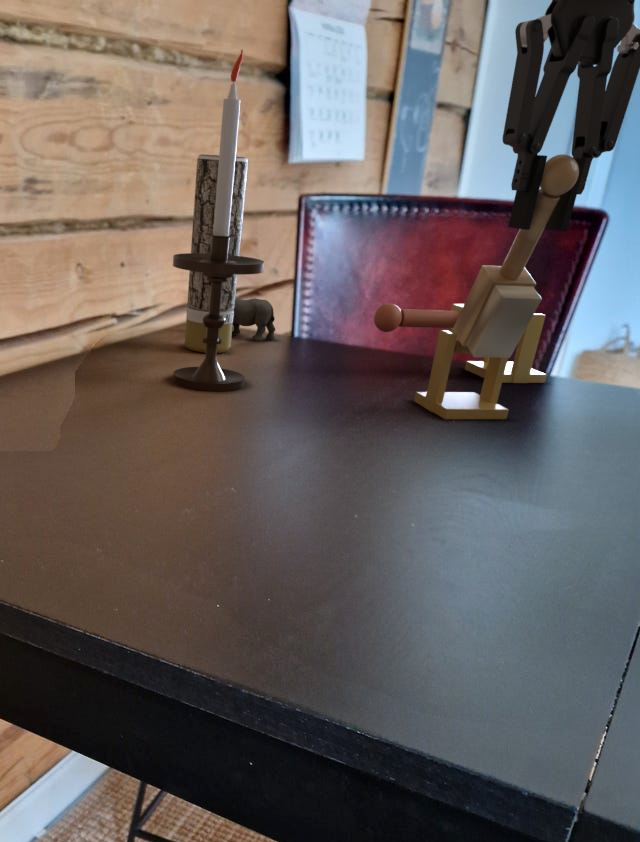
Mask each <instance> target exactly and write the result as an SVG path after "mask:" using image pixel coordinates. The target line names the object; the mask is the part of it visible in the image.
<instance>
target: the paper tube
mask: <svg viewBox="0 0 640 842" xmlns="http://www.w3.org/2000/svg"><path fill="white" fill-rule="evenodd" d="M218 164H219V154H203V153H202V154H198V156H197V159H196V173H195V185H194V188H195V189H194V201H193V218H192V231H191V245H190V253H206V254H211V242H212V236H209V235H206V234H204V233H213V227H214V215H215V202H216V190H217V177H218ZM248 166H249V159H248V157H245V156H236V159H235V170H234V182H233V193H232V205H231V216H230V228H229V234H232V235H237V236H236V237H230V238H229V249H228V255H234V256H240V253H241V252H240V251H241V241H242V240H241V239H242V230H243V219H244V210H245V209H244V208H245V200H246V189H247V177H248ZM188 274H189V275H188V289H187V303H186V305H187V306H186V320H185V335H184V345H185V347H186V348H187V349H188V350H190V351H193V352H196V353H197V352H198V353H203V354H206V343H203V342H202V339H203V338H206V333H207V327H205V326H204V324H203V321H202V319H203V317H204V316H205V315H207V314H209V306H210V293H211V282H210V281H208V280H206V277H205V276H204V275H202V274H201V272H196V271H189V273H188ZM237 283H238V275H236V274H235V276H234V277H231V278H228V281H227V282H224V283H222V293H221V305H220V315H222V316H223V317H224V318H225V323H224V325H223V327H222V328H219V338H218V339H221V340H222V343H221V344H217V352H216V354H221V353H225V352H228V351H229V350H230V348H231V346H232V345H231V343H232V336H233V335H232V331H233V329H232V324H233V316H234V305H235V297H236V293H237ZM231 335H232V336H231Z"/></svg>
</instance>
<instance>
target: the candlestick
mask: <svg viewBox="0 0 640 842" xmlns="http://www.w3.org/2000/svg"><path fill="white" fill-rule="evenodd" d="M243 60H244V49H241V50H240V54H239V56H238V58H237V59H236V61H235V62H234V65H233V67H232V70H231V72H230V81H231V84H230V88H229V92H228V94H227V97H226V98H223V100H222V101H223V103H222V105H223V106H222V115H221V128H220V140H219V141H220V142H219V151H218V155H219V164H218V177H217V190H216V202H215V215H214V227H213V233H204V234H206V235H209V236H212V242H211V254H206V253H191V252H187V253H186V252H185V253H176V254H173V256H172V267H174V268H176V269H179V270H185V271H189V272H190V271H196V272H201V274H202V275H204V276H205V277H206V280H208V281H210V282H211V293H210V306H209V314H207V315H205V316H204V317H203V319H202V321H203V324H204V326H205V327H207V333H206V338H203V339H202V342H203V343H206V353H204V354H205V357H204V359H203V360H202V362H201V363H200V364H199V366H188V367H180V368H177V369H175V370H174V371H173V374H172V375H173V376H172V381H173V383H175V384H176V385H178V386H180V387H184V388H188V389H192V390H198V391H206V392H207V391H208V392H227V391H228V392H229V391H230V392H231V391H236V390H240V389H242V388H244V386H245V379H246V377H245V375H244V374H243V373H240V372H237V371H235V370H231V369H226V368H221V367H220V364H219V362H218V360H217V353H216V352H217V344H221V343H222V340H221V339H218V338H219V328H222V327H223V325H224V323H225V318H224V317H223V316H222V315H220V305H221V293H222V283H224V282H227V281H228V278H231V277H234V276H235V274H236V275H237V276H239V275H245V276H246V275H259V274H262V273H264V270H265V261H264V260H262V259H259V258H254V257H249V256H242V255H239V256H234V255H228V249H229V238H230V237H236V236H237V235H232V234H229V228H230V216H231V205H232V193H233V182H234V170H235V159H236V157H237V148H238V147H237V146H238V135H239V124H240V112H241V102H242V101H241V99H238V94H237V85H236V83H235V82H237V80H238V76H239V73H240V71H241V65H242V63H243Z"/></svg>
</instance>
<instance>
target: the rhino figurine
mask: <svg viewBox="0 0 640 842" xmlns="http://www.w3.org/2000/svg"><path fill="white" fill-rule="evenodd" d="M274 312H275V311H274V307H273V305H272V304H271V302H269V300H267V299H260V298H250V299H241V298H239V297H237V296H235V305H234V316H233V324H232V335H231V337H233V336H239V335H240V334H241V330H240V327H251V326H254V325H255V326H256V327H257V329H256V332H255V334H254V335H253V336H252V337H251V340H252V341H256V342H258V341H263V339H264V338H263V335H264V334H265V333H266V330H267V332H268V333H267V334H266V336H265V340H267V341H273V340H276V338H275V331H276V327H275V325H274V321H275V315H274Z"/></svg>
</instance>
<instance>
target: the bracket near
mask: <svg viewBox="0 0 640 842" xmlns="http://www.w3.org/2000/svg"><path fill="white" fill-rule="evenodd" d="M456 339H457V334H456V333H453V332H451V331H450V330H449V329H440V330H439V332H438V338H437V342H436V347H435V351H434V356H433V362H432V367H431V371H430V375H429V380H428V384H427V390H426V391H415V394H414V395H415V396H414V398H413V399H414V400H413V402H414V403H416V404H418V405H419V406H421V407H423V408H424V409H425V410H427V411H428V412H431V413H433V414H435V415H437V416H439V417H440V418H442V419H443V420H507V418H508V414H509V408H507V407H505V406H503V405H501V404H499V403H498V400H499V396H500V393H501V389H502V384H503V383H502V381H503V377H504V373H505V369H506V365H507V362H509V358H489V361H488V365H487V369H486V373H485V378H483V382H482V386H481V391H480V394H479V393H477V392H475V391H446V388H447V383H448V380H449V375H450V370H451V366H452V361H453V356H454V353H453V352H454V348H455V343H456Z"/></svg>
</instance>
